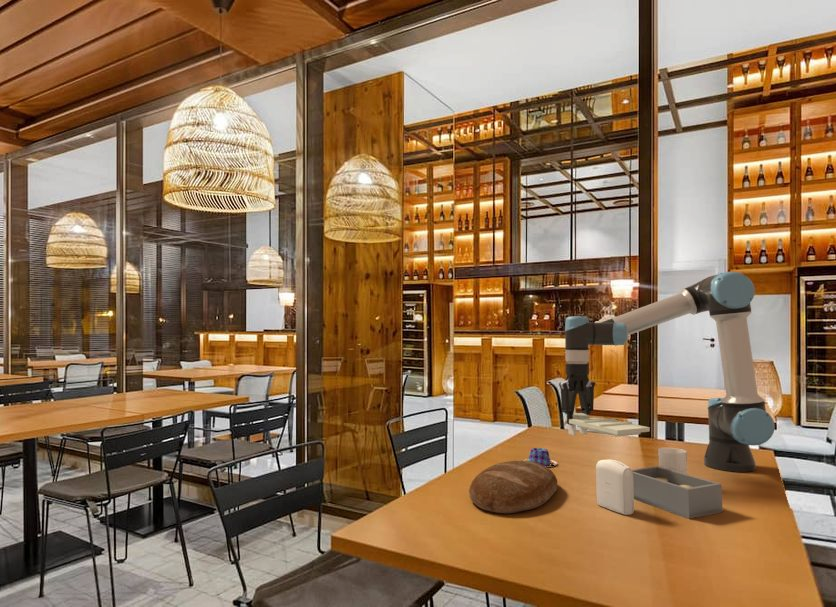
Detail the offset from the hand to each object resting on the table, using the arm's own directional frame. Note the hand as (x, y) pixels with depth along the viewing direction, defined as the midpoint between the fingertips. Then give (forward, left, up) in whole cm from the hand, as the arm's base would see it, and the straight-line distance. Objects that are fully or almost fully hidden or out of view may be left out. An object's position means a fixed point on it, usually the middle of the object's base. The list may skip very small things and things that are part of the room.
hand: (577, 433), depth 177 cm
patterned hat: (+6, -13, -13) cm, 19 cm away
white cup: (-15, +24, -12) cm, 31 cm away
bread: (+34, +13, -13) cm, 38 cm away
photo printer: (+18, +34, -12) cm, 40 cm away
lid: (0, +11, +3) cm, 11 cm away
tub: (+1, +37, -12) cm, 39 cm away
